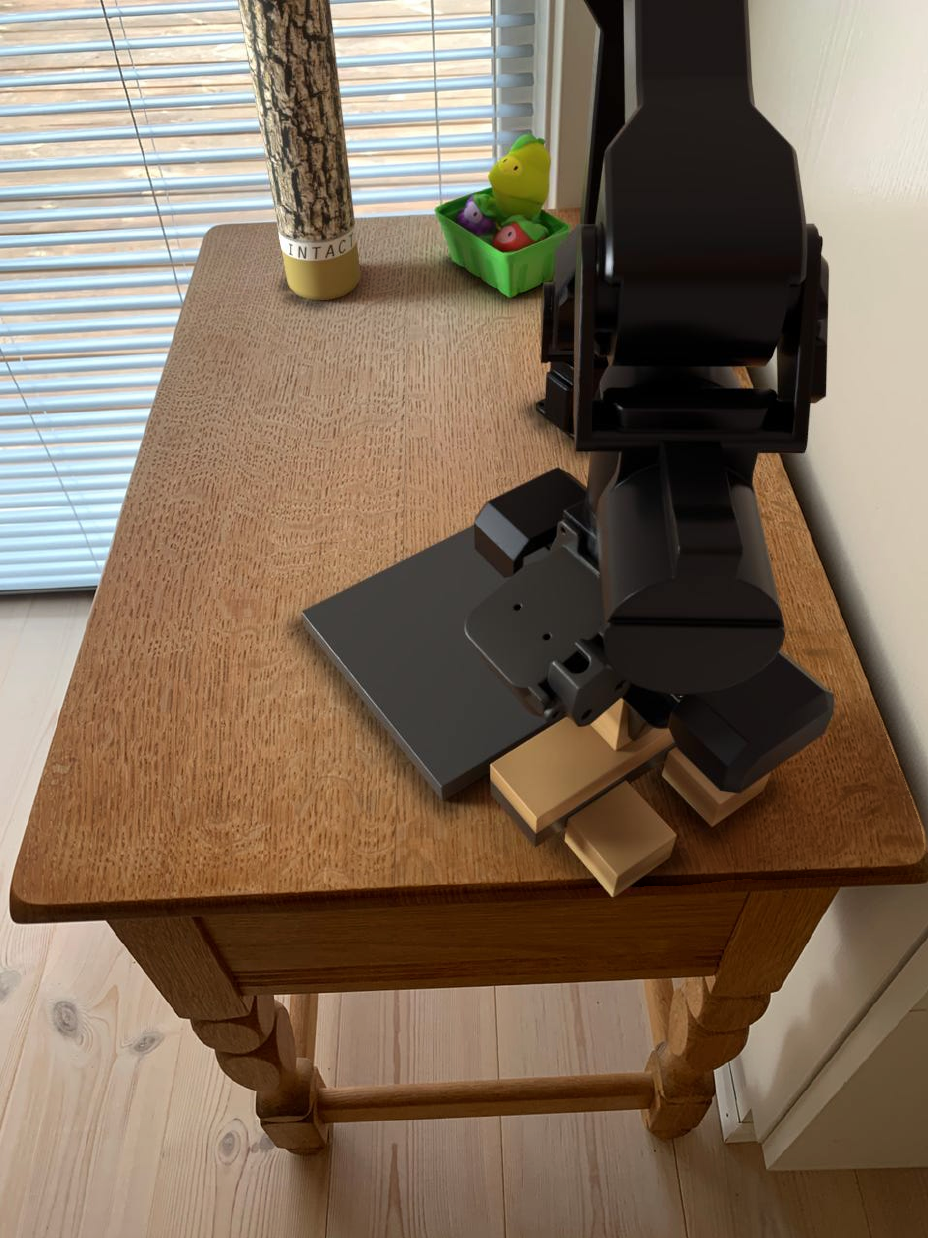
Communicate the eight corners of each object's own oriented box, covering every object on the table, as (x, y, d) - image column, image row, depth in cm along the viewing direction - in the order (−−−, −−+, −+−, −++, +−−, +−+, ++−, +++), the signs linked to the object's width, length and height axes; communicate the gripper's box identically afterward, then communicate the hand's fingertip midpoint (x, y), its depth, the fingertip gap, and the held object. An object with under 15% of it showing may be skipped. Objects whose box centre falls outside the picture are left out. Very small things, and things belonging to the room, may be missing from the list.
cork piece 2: (713, 740, 57) (721, 716, 55) (764, 790, 55) (774, 766, 53) (661, 775, 55) (667, 751, 54) (711, 827, 53) (720, 804, 51)
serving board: (525, 513, 70) (526, 497, 69) (681, 654, 61) (685, 638, 60) (303, 626, 64) (300, 611, 63) (442, 802, 55) (441, 787, 54)
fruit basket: (432, 259, 94) (425, 137, 85) (505, 230, 97) (505, 110, 89) (506, 309, 88) (507, 184, 79) (582, 276, 91) (590, 152, 83)
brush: (681, 672, 58) (702, 580, 52) (730, 717, 56) (758, 626, 50) (490, 794, 53) (488, 707, 47) (535, 848, 51) (539, 765, 45)
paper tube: (282, 272, 93) (227, -34, 74) (352, 259, 94) (316, -45, 75) (295, 309, 89) (241, -6, 70) (369, 295, 90) (335, -18, 71)
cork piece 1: (620, 803, 54) (625, 779, 52) (670, 857, 52) (677, 834, 50) (564, 841, 53) (567, 818, 51) (612, 898, 51) (617, 876, 49)
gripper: (369, 453, 43) (397, 675, 54) (665, 748, 32) (620, 942, 44) (570, 363, 47) (556, 587, 58) (890, 599, 36) (794, 814, 48)
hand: (620, 717), depth 52 cm, fingers closed on brush, 2 cm apart
